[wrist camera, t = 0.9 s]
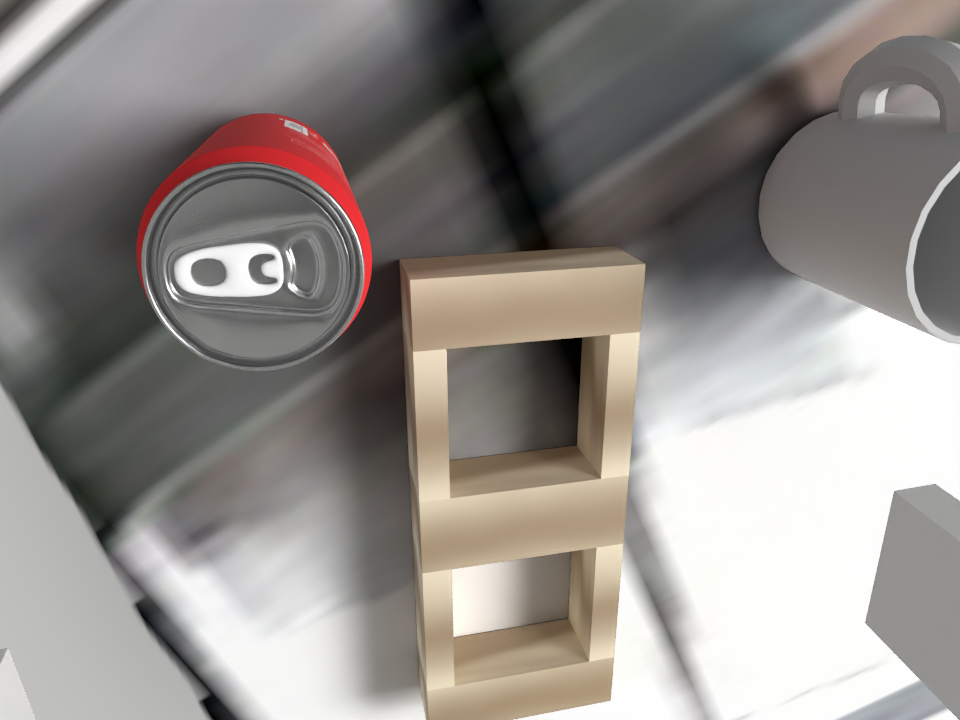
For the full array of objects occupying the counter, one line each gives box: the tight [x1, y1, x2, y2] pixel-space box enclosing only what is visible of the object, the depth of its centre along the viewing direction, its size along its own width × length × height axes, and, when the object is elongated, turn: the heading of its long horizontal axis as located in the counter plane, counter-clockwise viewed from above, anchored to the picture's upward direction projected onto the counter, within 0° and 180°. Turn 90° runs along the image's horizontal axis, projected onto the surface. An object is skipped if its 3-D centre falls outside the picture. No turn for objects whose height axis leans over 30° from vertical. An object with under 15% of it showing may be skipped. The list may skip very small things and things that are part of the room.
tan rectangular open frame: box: [399, 246, 646, 720], centre depth 33 cm, size 22×9×3 cm, turn 0°
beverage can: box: [136, 114, 372, 371], centre depth 22 cm, size 5×5×12 cm
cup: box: [758, 36, 960, 344], centre depth 28 cm, size 7×10×9 cm
